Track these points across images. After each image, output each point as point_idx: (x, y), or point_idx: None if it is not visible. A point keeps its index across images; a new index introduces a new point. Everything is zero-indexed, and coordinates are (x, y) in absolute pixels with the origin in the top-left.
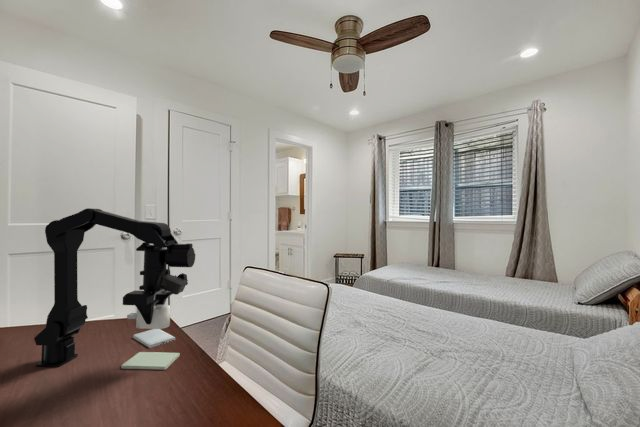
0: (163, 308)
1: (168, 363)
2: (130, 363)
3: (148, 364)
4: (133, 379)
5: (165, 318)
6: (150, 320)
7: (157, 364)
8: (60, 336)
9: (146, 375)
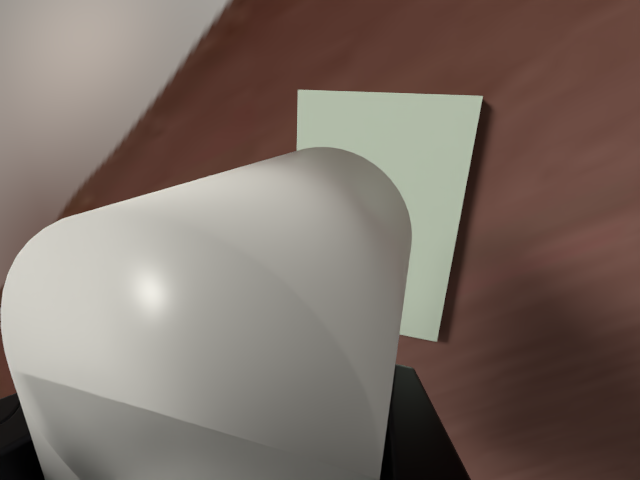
0: (298, 362)
1: (440, 96)
2: (418, 309)
3: (440, 214)
4: (574, 231)
5: (362, 199)
6: (428, 402)
7: (444, 162)
8: None
9: (537, 180)
